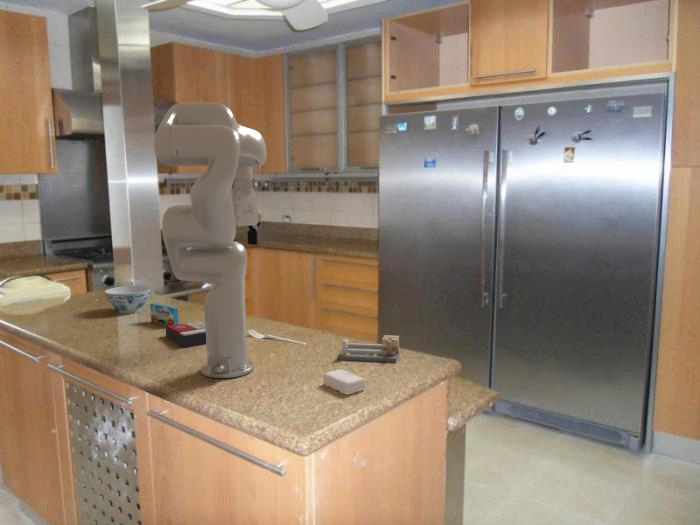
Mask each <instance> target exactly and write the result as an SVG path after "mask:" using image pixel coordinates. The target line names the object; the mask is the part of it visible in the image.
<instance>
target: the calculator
mask: <svg viewBox="0 0 700 525" xmlns="http://www.w3.org/2000/svg"><path fill="white" fill-rule="evenodd" d="M165 337H166V338H168V339H169V340H171V341H172V342H173V343H176V344H177V345H178V346H179V347H181V348H183V349H187V348H192V347H193V346H194V347H198V345H199V346H204V344H205V345H206V327H205V322H203V321H198V320H197V321H193V322H186V323H185V324H184V323H180V324H179V323H178V325H172V326H167V327H166V328H165Z"/></svg>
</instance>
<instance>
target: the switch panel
mask: <svg viewBox="0 0 700 525" xmlns="http://www.w3.org/2000/svg"><path fill="white" fill-rule="evenodd" d="M399 354H400V350H399V351H398V353H396V351H392V355H387V351H382V344H373V343H354V342H353V343H349V340H348V339H343V340H341V350H340V351H339V353H338V355H337V360H338V361H339V360H341V361H355V360H357V361H358V360H359V361H360V362H376V361H386V362H385V363H397V362H396V361H398V358H399ZM357 361H356V362H357ZM359 361H358V362H359Z"/></svg>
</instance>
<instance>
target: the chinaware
mask: <svg viewBox="0 0 700 525" xmlns="http://www.w3.org/2000/svg"><path fill="white" fill-rule="evenodd" d="M151 291H152V290H151V287H150V286H144V285H126V286H117V287H112V288H108V289H106V290H105V291H104V294H105V297H106V299H107V300H106V301H108V303H109V304H110V305H111V306H112V307H113V308H114V309H116V310H118V313H120V312H121V313H120V314H134V313H133V312H135V313H138V312H140V309H141V308H142V307H144V305H146V303H147V301H148V300H149V297H150V294H151ZM137 311H138V312H137Z"/></svg>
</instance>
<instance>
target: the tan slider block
mask: <svg viewBox="0 0 700 525" xmlns="http://www.w3.org/2000/svg"><path fill="white" fill-rule="evenodd" d="M381 340H382V344H381V345H382V351H387V355H392V351H396V353H398V351H399V352H400V335H392V334H391V335H390V334H389V335H388V334H386V335H385V334H384V335H383V337H382V339H381Z"/></svg>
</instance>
